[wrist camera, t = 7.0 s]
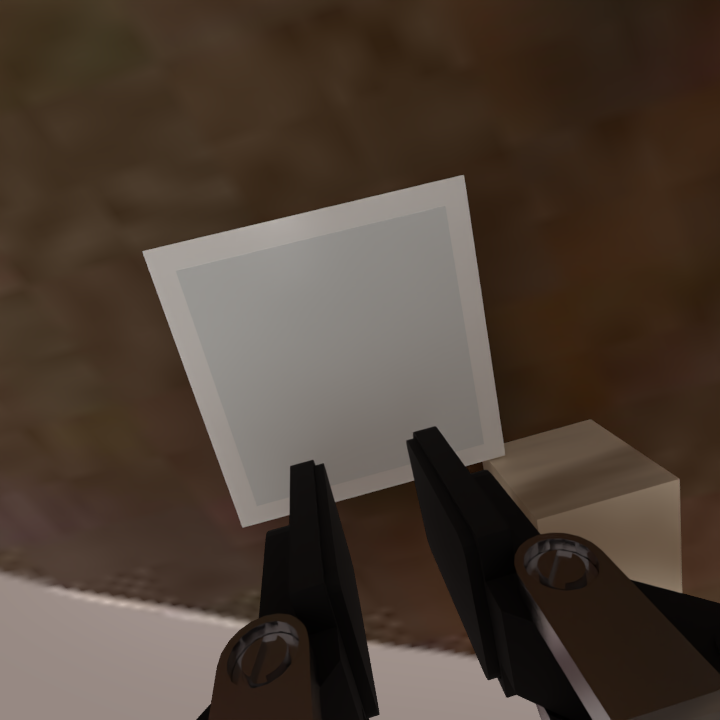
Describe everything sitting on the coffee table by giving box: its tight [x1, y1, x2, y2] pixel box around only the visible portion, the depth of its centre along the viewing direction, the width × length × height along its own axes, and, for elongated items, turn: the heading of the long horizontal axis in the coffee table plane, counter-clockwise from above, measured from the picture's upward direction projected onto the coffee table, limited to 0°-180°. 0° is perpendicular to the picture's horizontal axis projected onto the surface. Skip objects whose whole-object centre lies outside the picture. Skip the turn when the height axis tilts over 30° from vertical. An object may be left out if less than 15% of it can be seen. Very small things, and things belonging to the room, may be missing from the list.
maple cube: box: [483, 419, 682, 593], centre depth 22 cm, size 6×6×6 cm
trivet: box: [142, 175, 505, 528], centre depth 21 cm, size 13×13×1 cm
